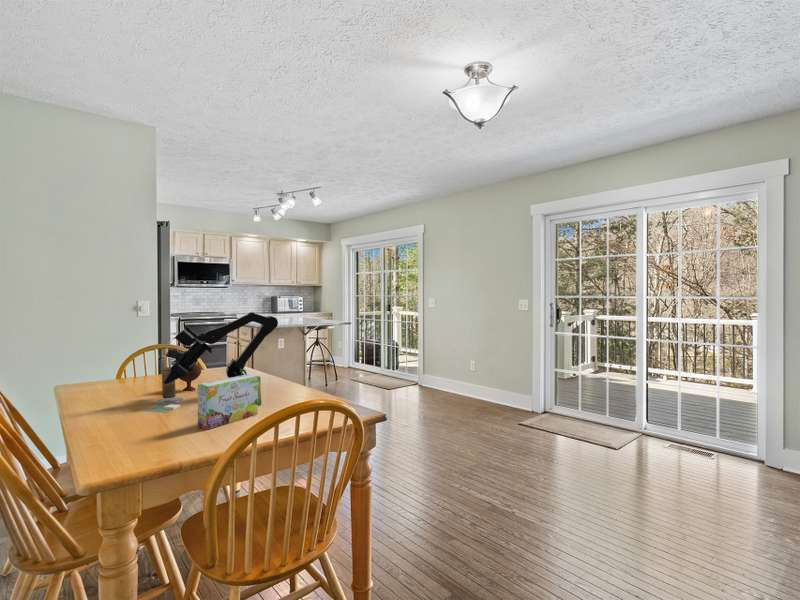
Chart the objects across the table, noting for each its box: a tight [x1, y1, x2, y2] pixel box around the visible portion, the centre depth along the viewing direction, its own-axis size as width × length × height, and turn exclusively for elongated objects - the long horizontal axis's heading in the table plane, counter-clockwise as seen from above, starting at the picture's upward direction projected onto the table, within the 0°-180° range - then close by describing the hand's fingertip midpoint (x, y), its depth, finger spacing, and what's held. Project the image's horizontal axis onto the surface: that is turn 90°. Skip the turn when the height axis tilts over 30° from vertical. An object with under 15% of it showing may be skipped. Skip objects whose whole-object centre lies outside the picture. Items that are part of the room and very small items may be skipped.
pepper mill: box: [161, 366, 177, 399], centre depth 180 cm, size 5×5×12 cm
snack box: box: [197, 373, 259, 431], centre depth 154 cm, size 21×6×15 cm, turn 148°
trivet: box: [153, 396, 185, 406], centre depth 181 cm, size 11×11×1 cm
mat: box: [144, 404, 181, 414], centre depth 169 cm, size 10×8×1 cm
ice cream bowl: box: [178, 362, 202, 392], centre depth 201 cm, size 11×11×15 cm
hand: (165, 382), depth 180 cm, fingers closed on pepper mill, 5 cm apart
